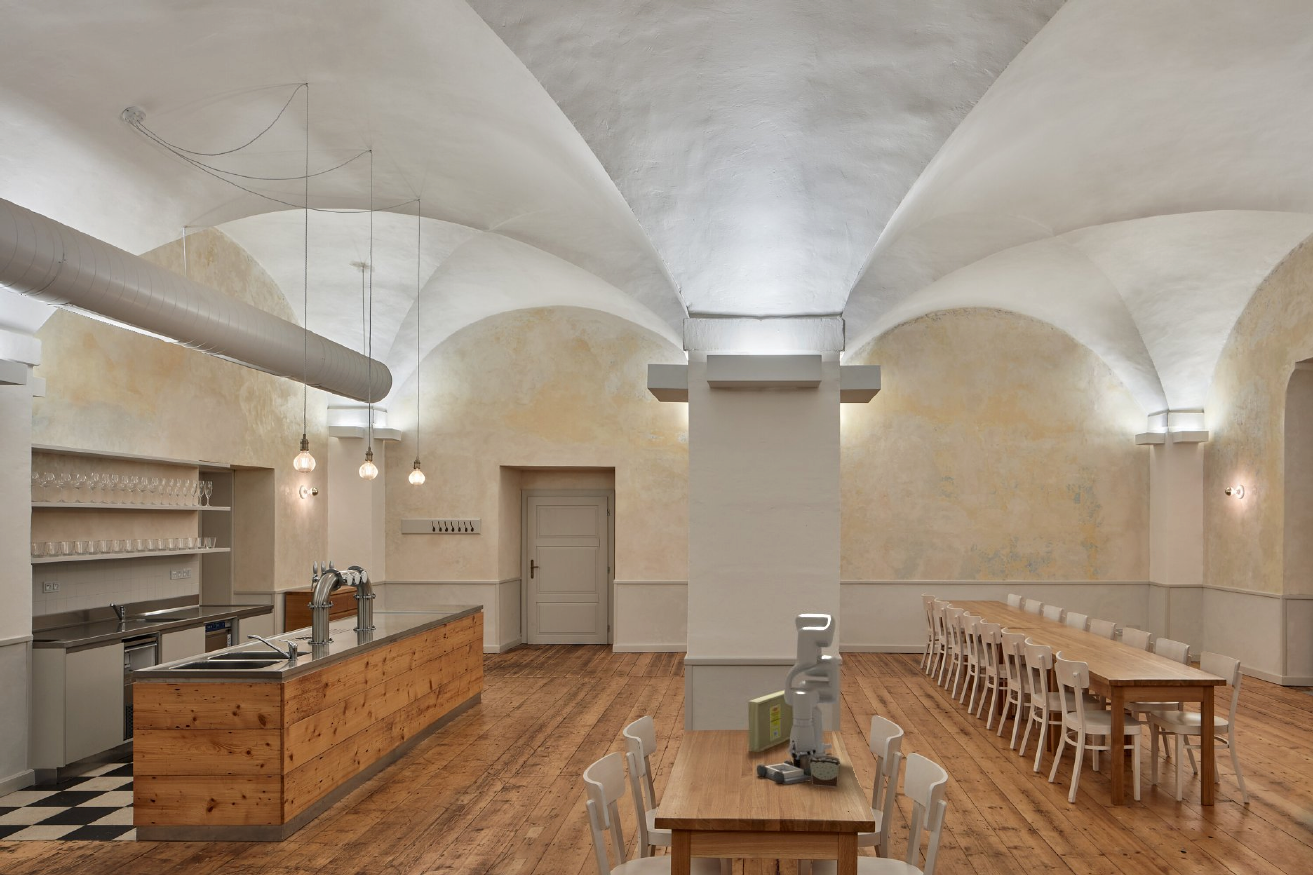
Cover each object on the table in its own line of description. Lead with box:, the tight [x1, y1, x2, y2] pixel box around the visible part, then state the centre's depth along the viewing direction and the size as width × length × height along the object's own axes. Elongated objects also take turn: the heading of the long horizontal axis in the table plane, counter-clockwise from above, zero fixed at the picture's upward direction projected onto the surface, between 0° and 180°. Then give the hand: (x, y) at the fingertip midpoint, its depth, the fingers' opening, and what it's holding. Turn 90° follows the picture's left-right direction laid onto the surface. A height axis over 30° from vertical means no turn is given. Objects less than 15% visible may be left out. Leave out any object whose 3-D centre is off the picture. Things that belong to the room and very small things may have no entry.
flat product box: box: [747, 689, 794, 753], centre depth 423 cm, size 35×5×22 cm, turn 145°
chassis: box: [756, 759, 812, 786], centre depth 365 cm, size 15×18×4 cm
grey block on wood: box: [792, 753, 812, 769], centre depth 377 cm, size 5×7×6 cm
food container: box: [808, 755, 841, 788], centre depth 356 cm, size 12×6×10 cm, turn 71°
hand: (803, 767), depth 376 cm, fingers open, 5 cm apart
